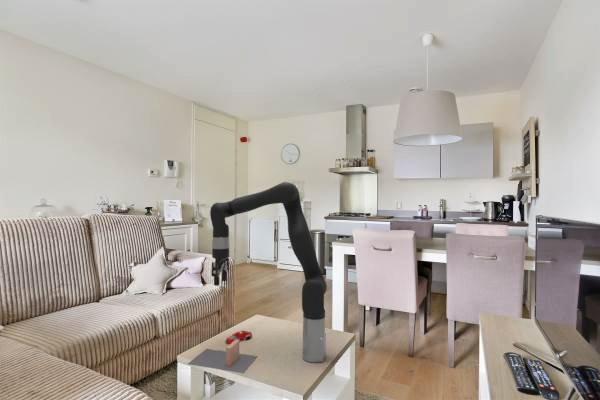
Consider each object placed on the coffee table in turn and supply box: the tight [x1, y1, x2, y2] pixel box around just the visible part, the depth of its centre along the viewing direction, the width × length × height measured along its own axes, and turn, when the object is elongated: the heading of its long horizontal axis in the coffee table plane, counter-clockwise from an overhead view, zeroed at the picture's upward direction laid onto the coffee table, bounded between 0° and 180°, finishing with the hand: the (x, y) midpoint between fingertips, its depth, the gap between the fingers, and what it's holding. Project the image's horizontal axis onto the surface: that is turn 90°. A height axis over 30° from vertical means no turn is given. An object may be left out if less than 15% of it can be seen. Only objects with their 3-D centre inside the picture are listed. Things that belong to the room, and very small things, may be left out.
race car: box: [225, 330, 253, 345], centre depth 152 cm, size 13×5×4 cm, turn 135°
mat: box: [187, 348, 259, 374], centre depth 132 cm, size 24×14×1 cm, turn 75°
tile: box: [225, 340, 240, 366], centre depth 131 cm, size 2×8×7 cm, turn 165°
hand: (220, 283), depth 147 cm, fingers open, 8 cm apart
